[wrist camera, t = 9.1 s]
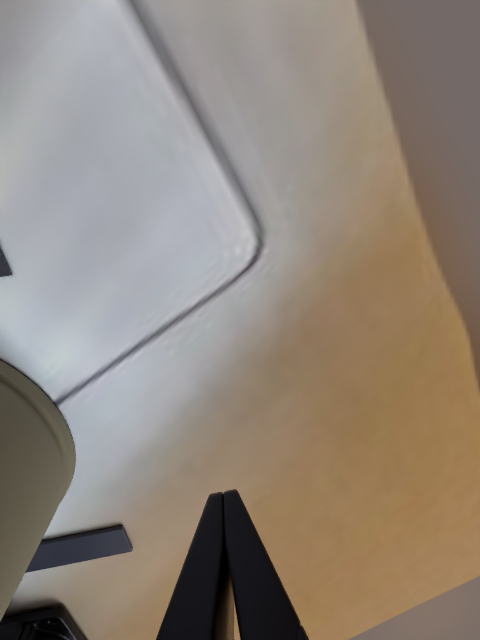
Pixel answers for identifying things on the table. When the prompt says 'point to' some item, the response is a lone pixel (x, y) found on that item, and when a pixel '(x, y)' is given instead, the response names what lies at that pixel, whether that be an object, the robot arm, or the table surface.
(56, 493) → the can
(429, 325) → the table surface
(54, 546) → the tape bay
